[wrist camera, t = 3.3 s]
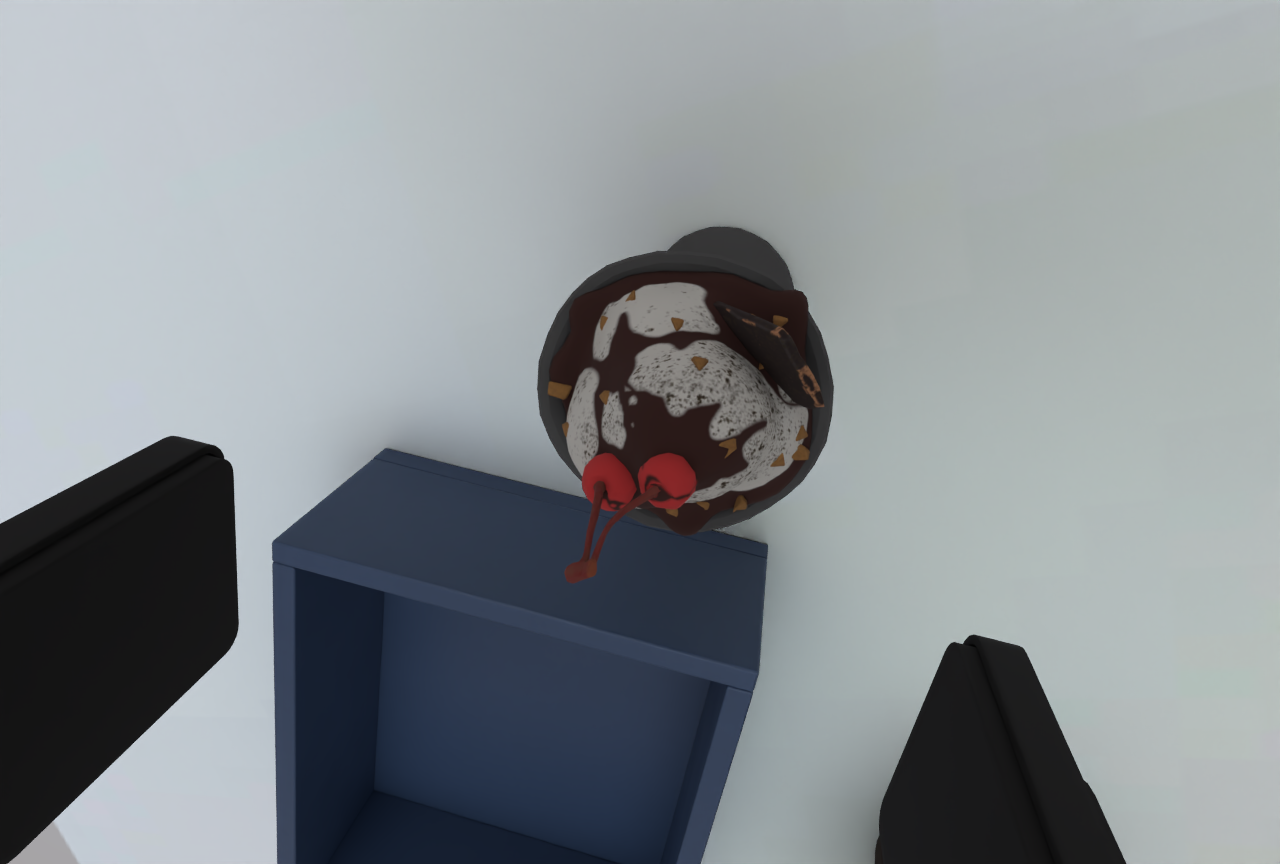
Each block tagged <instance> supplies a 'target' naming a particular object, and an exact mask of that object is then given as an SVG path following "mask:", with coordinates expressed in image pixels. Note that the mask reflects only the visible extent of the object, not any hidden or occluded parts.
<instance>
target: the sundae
mask: <svg viewBox="0 0 1280 864" xmlns="http://www.w3.org/2000/svg"><path fill="white" fill-rule="evenodd" d="M537 390H538V400H539V410H540V416H541V418H542V421H543V423H544V426H545V428H546V431H547V433H548V436H549V438H550V440H551V442H552V444H553V445H554V447H555V449H556V451H557V452H558V454H559V456H560V457H561V458H562V460H563V461H564V462H565V463H566V464H567V466H568V467H569V468H570V469H571V470H572V472H573V473H574V474H575V475H576V476H577V477H578V478H579V479H580V480H581V481H582V489H583V491H584V493H585V495H586V497H587V498H588V500H589V501H590V502H591V503H592V510H591V515H590V520H589V524H588V528H587V533H586V540H585V547H584V553H583V557H582V558H581V559H580V561H579V562H574V563H571V564H570V565H568V566H567V567H566V569H565V572H564V574H565V577H566V580H567V582H569V583H576V582H579V581H581V580H584V579H587V578H590V577H593V576H594V575H596V572H597V561H598V558H599V555H600V551H601V549H602V546H603V543H604V541H605V538H606V535H607V534H608V532H609V531H610V529H611V527H612V526H613V525H614V524H615V523H616V522H617V521H618V520H619V519H620V518H622V517H623V516H624V515H625V516H627V517H629V518H631V519H633V520H636V521H638V522H640V523H642V524H644V525H646V526H649V527H654V528H659V529H664V530H669V531H674V532H675V533H677V534H680V535H682V536H690V535H693V534H696V533H697V532H705V531H709V530H714V529H718V528H723V527H727V526H730V525H733V524H736V523H739V522H742V521H745V520H748V519H750V518H752V517H753V516H755V515H757V514H759V513H761V512H762V511H764V510H766V509H768V508H769V507H771V506H772V505H774V504H775V503H777V502H778V501H779V500H781V499H782V498H784V497H785V496H787V495H788V494H789V493H790V492H791V491H792V490H793V489H794V488H796V487H797V486H798V485H799V484H800V483H801V482H802V481H803V480H804V479H805V477H806V476H807V474H808V473H809V472H810V470H811V469H812V467H813V466H814V465H815V463H816V461H817V459H818V457H819V455H820V453H821V451H822V449H823V448H824V446H825V444H826V442H827V437H828V432H829V427H830V422H831V417H832V406H833V390H834V386H833V380H832V375H831V370H830V364H829V359H828V355H827V352H826V348H825V345H824V342H823V339H822V335H821V332H820V330H819V329H818V327H817V325H816V323H815V322H814V320H813V318H812V316H811V315H810V313H809V311H808V302H807V298H806V296H805V295H804V294H803V292H801V291H798V290H794V287H793V283H792V278H791V276H790V273H789V270H788V268H787V265H786V263H785V262H784V261H783V259H782V258H781V257H780V255H779V254H778V253H777V252H776V250H775V249H774V248H773V247H772V246H771V245H770V244H769V243H768V242H767V241H765V240H763V239H761V238H760V237H758V236H756V235H754V234H752V233H750V232H747V231H745V230H742V229H739V228H731V227H709V228H706V229H702V230H699V231H696V232H693V233H691V234H689V235H687V236H684V237H683V238H681V239H680V240H679V241H678V242H676V243H675V244H674V245H673V246H672V247H671V248H670V249H669V250H668V251H656V252H652V253H647V254H643V255H638V256H634V257H629V258H627V259H624V260H621V261H618V262H615V263H612V264H610V265H607V266H606V267H604V268H602V269H601V270H599V271H598V272H596V273H595V274H593V275H592V276H590V277H589V278H587V279H586V280H585V281H584V282H583V283H582V284H581V285H580V286H579V287H578V288H577V289H576V290H575V291H574V292H573V293H572V294H571V295H570V297H569V298H568V299H567V301H566V302H565V304H564V305H563V306H562V308H561V309H560V310H559V312H558V313H557V315H556V317H555V320H554V322H553V324H552V326H551V328H550V330H549V332H548V335H547V338H546V341H545V344H544V347H543V350H542V353H541V356H540V359H539V368H538V386H537ZM600 508H601V509H603V510H606V511H618V512H617V513H616V514H615V515H614V516H613V517H612V518H611V519H610V520H609V521H608V522H607V524H606V526H605V527H604V529H603V531H602V533H601V535H600V537H599V539H598V541H597V544H596V546H595V549H594V551H593V554H592V556H591V558H590V551H591V545H592V539H593V534H594V530H595V526H596V523H597V520H598V517H599V512H600ZM589 558H590V559H589Z"/></svg>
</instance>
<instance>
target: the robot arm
mask: <svg viewBox="0 0 1280 864" xmlns="http://www.w3.org/2000/svg"><path fill="white" fill-rule="evenodd" d="M238 625H239V620H238V591H237V563H236V534H235V505H234V476H233V468H232V465H231V463H230V462H229V461H227V460H225V459H224V455H223V453H222V451H221V450H220V449H219V448H218V447H216V446H214V445H210V444H206V443H202V442H198V441H194V440H190V439H186V438H182V437H177V436H170V437H166V438H164V439H162V440H160V441H158V442H156V443H154V444H152V445H150V446H148V447H146V448H144V449H143V450H141V451H139V452H137V453H135V454H133V455H131V456H129V457H127V458H125V459H123V460H122V461H120V462H118V463H116V464H114V465H112V466H110V467H108V468H106V469H104V470H102V471H100V472H99V473H97V474H95V475H93V476H91V477H89V478H87V479H85V480H83V481H81V482H79V483H78V484H76V485H74V486H72V487H70V488H68V489H66V490H64V491H62V492H60V493H58V494H57V495H55V496H53V497H51V498H49V499H47V500H45V501H43V502H41V503H39V504H37V505H35V506H34V507H32V508H30V509H28V510H26V511H24V512H22V513H20V514H18V515H16V516H14V517H13V518H11V519H9V520H7V521H5V522H3V523H1V524H0V864H7V863H9V862H10V861H11V860H12V859H13V858H15V857H16V856H17V855H18V854H19V853H20V852H21V851H22V850H23V849H24V848H25V847H26V846H27V845H29V844H30V843H31V842H32V841H33V840H34V838H36V837H37V836H38V835H39V834H40V833H41V832H42V831H43V830H44V829H45V828H46V827H47V826H48V825H49V824H50V823H51V822H52V821H53V820H54V819H55V818H56V817H57V816H59V815H60V814H61V813H62V812H63V811H64V810H65V809H66V808H67V807H68V806H69V805H70V804H71V803H72V802H73V801H74V800H75V799H76V798H77V797H78V796H79V795H80V794H81V793H82V792H83V791H84V790H85V789H86V788H88V787H89V786H90V785H91V784H92V783H93V782H94V781H95V780H96V779H97V778H98V777H99V776H100V775H101V774H102V773H103V772H104V771H105V770H106V769H107V768H108V767H109V766H110V765H111V764H112V763H113V762H114V761H115V760H116V759H118V758H119V757H120V756H121V755H122V754H123V753H124V752H125V751H126V750H127V749H128V748H129V747H130V746H131V745H132V744H133V743H134V742H135V741H136V740H137V739H138V738H139V737H140V736H141V735H142V734H143V733H144V732H145V731H146V730H148V729H149V728H150V727H151V726H152V725H153V724H154V723H155V722H156V721H157V720H158V719H159V718H160V717H161V716H162V715H163V714H164V713H165V712H166V711H167V710H168V709H169V708H170V707H171V706H172V705H173V704H174V703H175V702H177V701H178V700H179V699H180V698H181V697H182V696H183V695H184V694H185V693H186V692H187V691H188V690H189V689H190V688H191V687H192V686H193V685H194V684H195V683H196V682H197V681H198V680H199V679H200V678H201V677H202V676H203V675H204V674H205V673H207V672H208V671H209V670H210V669H211V668H212V667H213V666H214V665H215V664H216V663H217V662H218V661H219V660H220V659H221V658H222V657H223V656H224V655H225V654H226V653H227V652H228V651H229V649H230V648H231V646H232V645H233V643H234V641H235V638H236V636H237V632H238ZM879 834H880V841H881V849H882V856H883V864H1126V862H1125V860H1124V858H1123V855H1122V853H1121V851H1120V849H1119V847H1118V844H1117V842H1116V840H1115V838H1114V836H1113V834H1112V831H1111V829H1110V827H1109V825H1108V823H1107V820H1106V818H1105V816H1104V814H1103V812H1102V809H1101V807H1100V805H1099V803H1098V801H1097V798H1096V796H1095V794H1094V793H1093V791H1092V790H1091V788H1090V786H1089V785H1088V783H1086V782H1085V781H1084V780H1083V778H1082V776H1081V773H1080V771H1079V769H1078V767H1077V765H1076V762H1075V760H1074V758H1073V756H1072V753H1071V751H1070V749H1069V747H1068V744H1067V742H1066V740H1065V738H1064V736H1063V733H1062V731H1061V729H1060V727H1059V724H1058V722H1057V720H1056V718H1055V715H1054V713H1053V711H1052V709H1051V707H1050V704H1049V702H1048V700H1047V698H1046V695H1045V693H1044V691H1043V689H1042V686H1041V684H1040V682H1039V680H1038V678H1037V675H1036V673H1035V671H1034V669H1033V666H1032V664H1031V662H1030V660H1029V657H1028V655H1027V653H1026V652H1025V650H1024V649H1023V648H1022V647H1020V646H1018V645H1014V644H1010V643H1006V642H1002V641H998V640H994V639H990V638H986V637H982V636H978V635H971V636H969V637H968V638H967V639H966V640H965V641H964V643H963V644H960V643H956V642H953V643H951V644H950V645H949V646H948V647H947V649H946V651H945V653H944V656H943V658H942V660H941V663H940V665H939V667H938V670H937V672H936V675H935V677H934V679H933V682H932V684H931V686H930V689H929V691H928V694H927V696H926V698H925V701H924V703H923V706H922V708H921V710H920V713H919V715H918V717H917V720H916V722H915V725H914V727H913V729H912V732H911V734H910V736H909V739H908V741H907V744H906V746H905V748H904V751H903V753H902V755H901V758H900V760H899V763H898V765H897V767H896V770H895V772H894V775H893V777H892V779H891V782H890V784H889V786H888V789H887V791H886V794H885V796H884V799H883V802H882V805H881V810H880V817H879Z"/></svg>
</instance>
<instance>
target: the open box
mask: <svg viewBox="0 0 1280 864" xmlns="http://www.w3.org/2000/svg"><path fill="white" fill-rule="evenodd" d="M591 510H592V503H591V502H590V501H589V500H588V499H585V498H581V497H577V496H573V495H569V494H565V493H561V492H557V491H553V490H549V489H545V488H541V487H537V486H533V485H529V484H525V483H521V482H517V481H513V480H509V479H506V478H502V477H498V476H494V475H490V474H486V473H482V472H478V471H474V470H470V469H466V468H462V467H458V466H454V465H450V464H446V463H442V462H438V461H434V460H430V459H426V458H422V457H419V456H415V455H411V454H407V453H403V452H399V451H395V450H391V449H387V448H386V449H384V450H383V451H382V452H380V453H379V454H378V455H377V456H375V457H374V459H372V460H371V461H370V462H369V463H368V464H366V465H365V466H364V467H363V468H361V469H360V470H359V471H358V472H357V473H355V474H354V475H353V476H352V477H351V478H349V479H348V480H347V481H346V482H344V483H343V484H342V485H341V486H340V487H338V488H337V489H336V490H335V491H333V492H332V493H331V494H330V495H329V496H327V497H326V498H325V499H324V500H322V501H321V502H320V503H319V504H318V505H316V506H315V507H314V508H313V509H311V510H310V511H309V512H308V513H307V514H305V515H304V516H303V517H302V518H300V519H299V520H298V521H297V522H296V523H294V524H293V525H292V526H291V527H290V528H288V529H287V530H286V531H285V532H283V533H282V534H281V535H280V536H279V537H277V538H276V539H275V540H274V541H273V543H272V560H273V561H274V562H273V564H272V568H273V628H274V689H275V750H276V811H277V864H701V861H702V858H703V854H704V851H705V848H706V845H707V841H708V838H709V835H710V832H711V828H712V825H713V822H714V819H715V815H716V812H717V809H718V806H719V802H720V799H721V796H722V793H723V789H724V786H725V783H726V780H727V776H728V773H729V770H730V767H731V763H732V760H733V757H734V754H735V750H736V747H737V744H738V741H739V737H740V734H741V731H742V727H743V724H744V721H745V718H746V714H747V711H748V708H749V705H750V701H751V698H752V695H753V690H754V688H755V685H756V681H757V678H758V675H759V666H760V652H761V637H762V623H763V609H764V594H765V580H766V566H767V554H768V545H767V544H763V543H759V542H755V541H751V540H747V539H743V538H739V537H735V536H731V535H727V534H723V533H719V532H715V531H711V530H709V531H705V532H697V533H696V534H693V535H690V536H682V535H680V534H677V533H675V532H674V531H669V530H664V529H659V528H654V527H649V526H646V525H644V524H642V523H640V522H638V521H636V520H633V519H631V518H629V517H627V516H625V515H624V516H623V517H622V518H620V519H619V520H618V521H617V522H616V523H615V524H614V525H613V526H612V527H611V529H610V531H609V532H608V534H607V535H606V538H605V541H604V543H603V546H602V549H601V551H600V555H599V558H598V561H597V572H596V575H594V576H593V577H590V578H587V579H584V580H581V581H579V582H576V583H569V582H567V580H566V577H565V574H564V572H565V569H566V567H567V566H568V565H570V564H571V563H574V562H579V561H580V559H581V558H582V557H583V553H584V547H585V540H586V533H587V528H588V524H589V520H590V515H591ZM617 512H618V511H606V510H603V509H601V508H600V512H599V517H598V520H597V523H596V526H595V530H594V534H593V539H592V545H591V551H590V558H591V556H592V554H593V551H594V549H595V546H596V544H597V541H598V539H599V537H600V535H601V533H602V531H603V529H604V527H605V526H606V524H607V522H608V521H609V520H610V519H611V518H612V517H613V516H614V515H615V514H616V513H617ZM590 558H589V559H590Z"/></svg>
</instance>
